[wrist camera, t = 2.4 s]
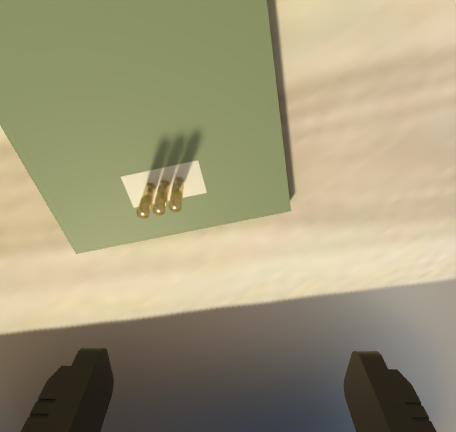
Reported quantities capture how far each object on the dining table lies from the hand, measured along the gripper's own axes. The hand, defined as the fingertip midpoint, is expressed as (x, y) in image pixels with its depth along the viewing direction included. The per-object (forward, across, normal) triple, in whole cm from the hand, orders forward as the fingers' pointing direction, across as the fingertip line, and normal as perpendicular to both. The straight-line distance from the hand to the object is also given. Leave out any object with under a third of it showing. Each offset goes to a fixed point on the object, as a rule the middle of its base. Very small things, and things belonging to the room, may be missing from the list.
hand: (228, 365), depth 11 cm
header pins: (+18, +5, +1) cm, 19 cm away
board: (+18, +7, -6) cm, 20 cm away
